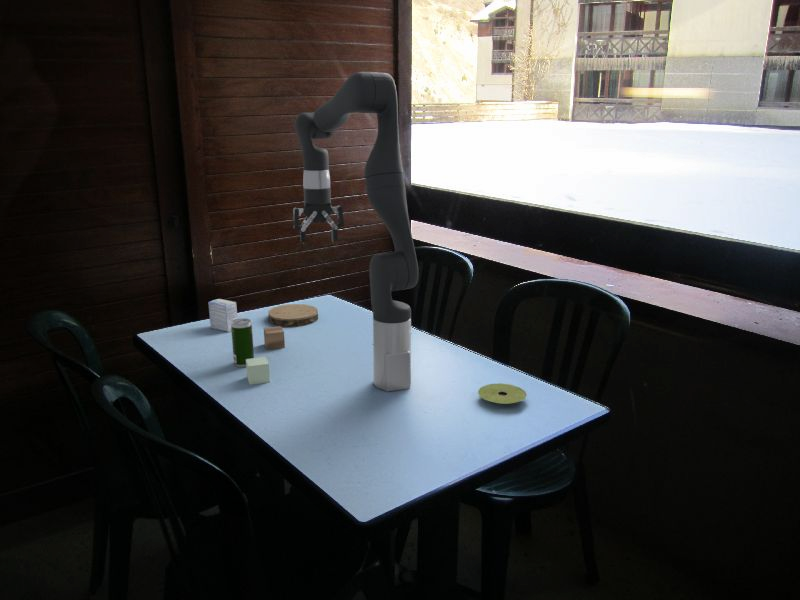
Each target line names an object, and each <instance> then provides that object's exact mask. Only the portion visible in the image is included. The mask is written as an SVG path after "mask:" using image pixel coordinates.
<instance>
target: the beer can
mask: <svg viewBox="0 0 800 600" xmlns="http://www.w3.org/2000/svg"><path fill="white" fill-rule="evenodd" d="M230 332H231V342H232V343H231V345H232V356H233V363H234V365H235V367H239V368H246V359H252V358H255V355H254V353H255V352H254V349H255V348H254V338H253V336H254V335H253V323H252V322H251V319H249V318H238V319H235V320H233V321H232V324H231V331H230Z"/></svg>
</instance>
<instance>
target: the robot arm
mask: <svg viewBox="0 0 800 600" xmlns="http://www.w3.org/2000/svg"><path fill="white" fill-rule="evenodd" d="M398 108H399V107H398V93H397V86H396V84H395V79H394V78H393V77H392V75H391V74H390V73H387V72H381V71H380V72H379V71H376V72H375V71H356V72H354V73H353V74H352V75H350V76H349V77H348V78H347V79H346V80H345V82H344V83H343V84H342V85H341V87H340V88H339V89H338V90H337V92H336V93H335V94H334V95H333V96H332V97H331V98H330V99H329V100H328V101H326V102H324V103H323V104H321V105H319V106H318V107H317V108H316V110H315V111H314V112H300V113H299V114H298V115H297V117H296V119H295V121H294V122H295V123H294V129H295V132H296V135H297V136H296V137H297V139H298V141H299V145H300V149H301V152H302V159H303V161H302V162H303V177H302V180H303V181H302V185H303V186H302V187H303V203H304V205H303V208H301V207H300V208H297V207H293V208H292V228H293V229H294V230H297V231H299V239H300V240H299V241H300V242H301V243H302V244H303V245H307V232H306V230H307V228H308V227H309V225H310V224H311V223H314V224H317V223H325V222H327V223H328V224H329V226H330V227H331V229H330V230H331V231H330V234H331V242H332V243H336V241H338V238H339V237H338V235H339V234H338V230H339V229H341V228H344V226H345V223H344V222H345V221H344V212H343V207H342V206H341V205H336V206H332V198H331V197H332V196H331V195H332V194H331V189H332V188H331V175H330V162H329V159H330V158H329V157H330V156H329V152H328V150H327V149H326V148H323V147H318V146H315V144H314V142H313V140H323V139H325V140H326V139H329V138H332V136H333V135H334V133H335V131H336V130H337V129H339V128H341V127H342V126H343V125H345V124H346V123H347V122H348V121H349V119H350V117H351V113H360V114H376V118H377V136H376V139H375V142H374V145H373V147H372V149H371V151H370V153H369V155H368V158H367V161H366V164H365V167H364V181H365V182H364V183H365V191H366V196H367V200H368V202H369V203H370V205H371V207H372V208H373V210H374V211H375V213H376V214H377V215H378V217H379V218H380V219H381V220H382V222H383V223H384V225H385V226H386V228H387V229H388V231H389V233H390V235H391V238H392V242H393V245H394V247H393V248H394V251H390V252H389V251H388V252H383V253H376V254H374V255H373V256H372V257H371V259H370V260H369V261H370V262H369V269H368V271H369V272H368V273H369V285H370V286H369V289H370V304H371V311H372V326H373V327H372V338H373V339H372V342H373V344H372V345H373V347H372V349H373V352H372V353H373V358H372V359H373V360H372V363H373V385H374V386H375V387H376V388H378V389H380V390H384V391H385V392H387V393H388V392H395V391H402V390H406V389H407V390H408V389H411V384H412V381H411V380H412V379H411V378H412V376H411V375H412V370H411V369H412V365H411V364H412V361H411V360H412V359H411V358H412V357H411V356H412V351H411V350H412V347H411V346H412V308H411V306H410V305H409V304H408V303H405V302H403V301H398V300H394V299H393V297H392V292H395V291H396V292H397V291H404V290H410V289H413V288H415V287H416V286H417V284H418V281H419V265H418V259H417V254H416V248H415V243H414V240H413V239H414V238H413V235H412V230H411V225H410V218H409V212H408V210H409V209H408V203H407V192H406V190H407V189H406V183H405V174H404V167H403V160H402V154H401V153H402V152H401V146H400V144H401V143H400V133H399V112H398V111H399V109H398ZM333 212H334V213H335V214H336V216H337V217H336V219H337V222H334V220H333V218H331V215H332V213H333ZM302 213H303V214H304V215H305V216H306V217H304V220H303V221H302V223H301V225H300V217H301V215H302Z"/></svg>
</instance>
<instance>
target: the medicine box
mask: <svg viewBox="0 0 800 600" xmlns="http://www.w3.org/2000/svg"><path fill="white" fill-rule="evenodd" d="M237 307H238V306H237V302H236V301H232V300H226V299H222V298H217V299H213V300H211V301H208V313H209V324H210V328H211V329H215V330H217V331H218V330H219V331H223V332H226V333H227V332H228V333H230V332H231V324H232V321H233V320H235V319H239V318H238V309H237Z"/></svg>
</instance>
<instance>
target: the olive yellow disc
mask: <svg viewBox="0 0 800 600" xmlns="http://www.w3.org/2000/svg"><path fill="white" fill-rule="evenodd" d="M477 393H478V396H479V397H480V398H481V399H483V400H485V401H488V402H492V403H494V404H495V403H496V404H503V405H505V404H516V403H519V402H522V401H524V400H525V399H526V398H527V396H528V395H527V392H526V390H524V389H522V388H521V387H519V386H516V385H513V384H509V383H508V384H507V383H501V382H500V383H490V384H489V383H488V384H486V385H483V386H481V387H480V388H479V389H478V391H477Z"/></svg>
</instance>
